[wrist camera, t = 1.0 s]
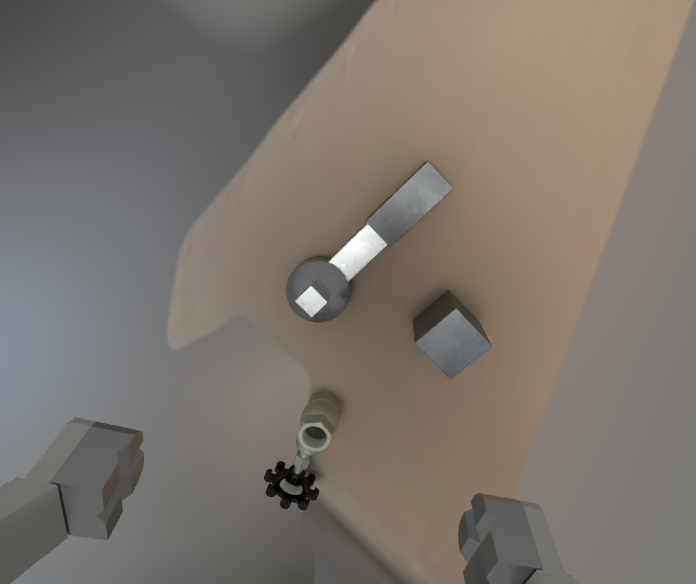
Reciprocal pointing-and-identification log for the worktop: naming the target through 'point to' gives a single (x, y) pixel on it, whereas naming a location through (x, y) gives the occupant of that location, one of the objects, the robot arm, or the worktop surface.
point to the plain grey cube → (450, 335)
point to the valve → (306, 451)
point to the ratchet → (362, 248)
